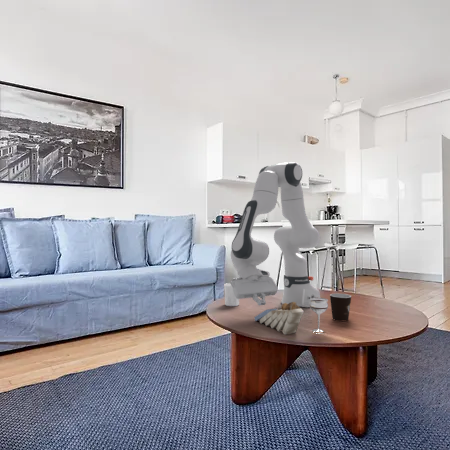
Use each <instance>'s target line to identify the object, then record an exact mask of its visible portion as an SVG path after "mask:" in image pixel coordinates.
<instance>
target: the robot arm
mask: <svg viewBox="0 0 450 450" xmlns="http://www.w3.org/2000/svg"><path fill="white" fill-rule="evenodd" d="M302 168H303V167H301V165H300V163H298V162H293V161H289V162H280V163H279V162H278V163H276V164H271V165H267V166H264V167H262V168H261V169H260V171H259V172H258V176H257V178H256V181H255V184H254V188H253V194H252V197H251V199H250V200H249V201H248V202H247V203H246V205H245V207H244V208H243V209H244V210H243V213H242V216H241V218H240V222H239V225H238V227H237V228H238V229H237V231H236V235H235V236H234V238H233V240H232V242H231V251H230V259H231V262H232V265H233V267H234V269H235V270H236V272H237V276H238V277H237V278H236V277H235V278H232V279H231V280H230V282H229V283H231V286H232V287H233V292H234V295H235V297H236V298H237V299H239V300H243V299H250V298H252V300H253V301H254V302H256V304H257V305H258V306H265V305H266V304H267V302H266V300H265V299H266V297H268V296H275V295H276V294H277V292H278V291H279V288H278V286H277V284H276V282H275V281H274V279H273V277H271V275H270V272H269V271H267V270H263V269H259V268H257V266H259V265H260V264H262V263H264V262H265V261H266V260H267V259H268V257H269V255H270V247H269V244H268V243H267V242H264V241H262V240H260V239H257V238H254V237H252V235H251V234H252V231H253V228H254V225H255V222H256V219H257V217H258V216H259V215H265V214H269V213H271V212H272V211H273V210H274V209H275V208H276V206H277V202H278V194H279V188H280V203H281V212H282V216H283V218H284V219H286V220H288V222H289V224H290V225H286V226H285V225H284V226H281V227H278V228H276V230H275V231H274V234H273V240H274V242H275V244H276V245H277V247H279V249H280V250H281V253H282V256H283V259H284V275H283V294H282V299H281V301H280V303H281V305H282V304H284V303H287V304H289V303H291V302H296V305H297V306H298V307H300V308H301V307H302V308H310V301H311V300H310V298H315V297H318V298H321V293H320V290H319V289H317V288H316V287H315V286H314V285H313V284H312V283H311V282H310V281H314V279H315V278H314V276H310V275H308V261H307V258H306V257H305V256H303V255H302V253H301V252H300V249H305V250H307V249H313V248H317V246H318V245H319V243H320V241H321V235H320V232H319V230H318V229H317V228H316V227H315V226H314V225H312V223H311V222H310V220H309V218H308V216H307V213H306V207H305V199H304V192H303V187H302V184H301V181H302V179H303V169H302Z"/></svg>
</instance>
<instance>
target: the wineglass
mask: <svg viewBox="0 0 450 450" xmlns="http://www.w3.org/2000/svg"><path fill="white" fill-rule="evenodd" d="M310 300H311V301H310V307H309V308H310V310H311V311H312V312H314V313H315V314H316V315H317V328H316V329H311V332H312V331H313V332H312V333H314V332H324V331H325V330H324V331H323V329H322V328H321V329H320V317H321V314H323V313H325V312H326V311H327V310H328V308H329V303H328V302H329V299H327V298H324V297H320V298H318V297H315V298H310Z"/></svg>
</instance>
